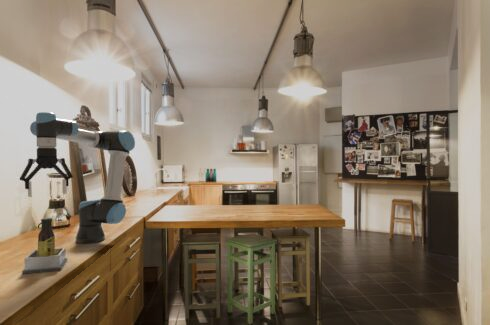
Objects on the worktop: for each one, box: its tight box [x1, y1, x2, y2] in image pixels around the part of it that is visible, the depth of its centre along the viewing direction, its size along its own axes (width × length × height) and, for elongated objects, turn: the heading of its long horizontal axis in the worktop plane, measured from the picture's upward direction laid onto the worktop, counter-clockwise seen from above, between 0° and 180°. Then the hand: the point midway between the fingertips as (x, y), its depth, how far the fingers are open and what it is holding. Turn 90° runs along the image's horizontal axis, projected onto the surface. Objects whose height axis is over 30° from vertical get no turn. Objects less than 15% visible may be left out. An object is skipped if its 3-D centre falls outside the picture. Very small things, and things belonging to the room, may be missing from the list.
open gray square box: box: [21, 247, 69, 275], centre depth 138 cm, size 14×14×6 cm
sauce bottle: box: [37, 217, 56, 257], centre depth 138 cm, size 7×6×20 cm
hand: (47, 195), depth 142 cm, fingers open, 13 cm apart
